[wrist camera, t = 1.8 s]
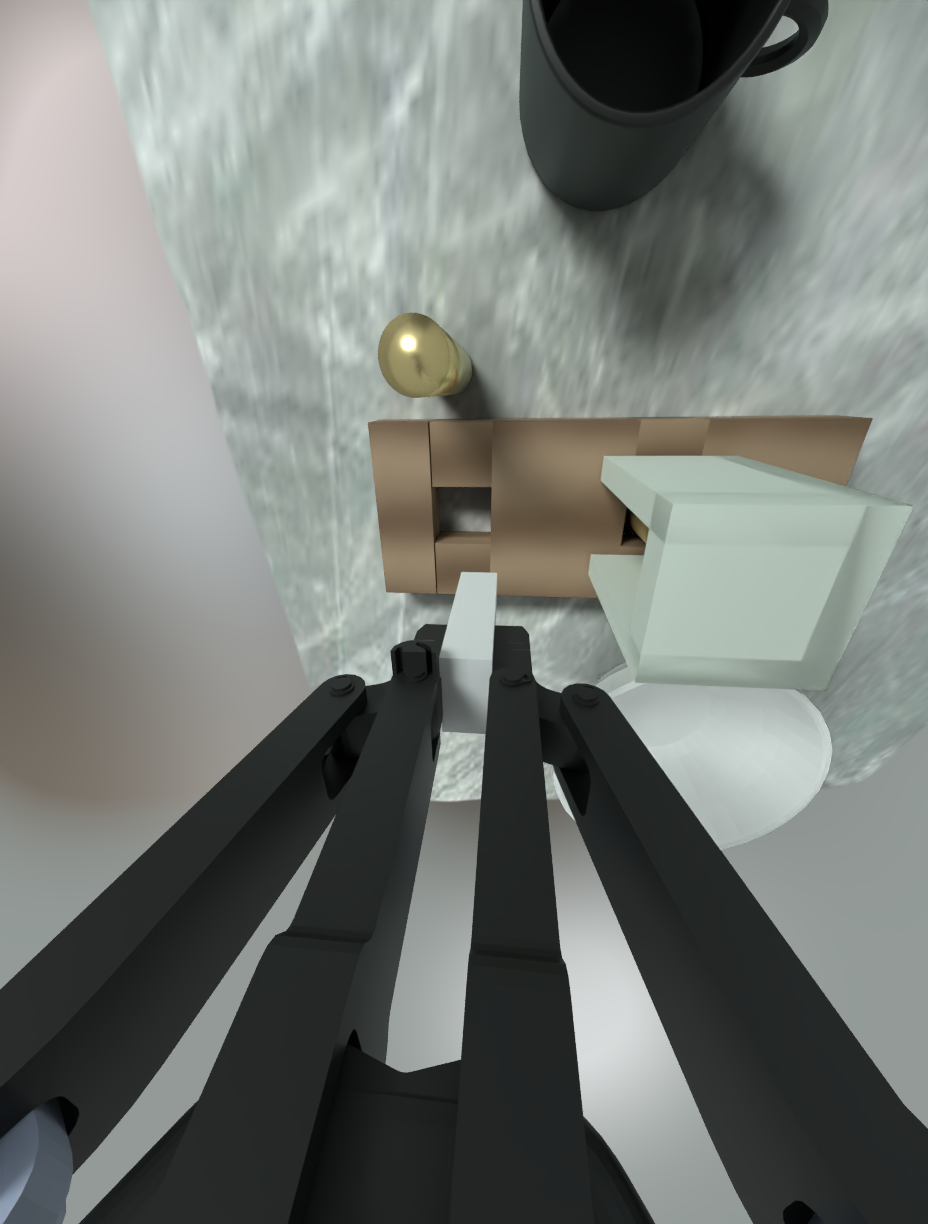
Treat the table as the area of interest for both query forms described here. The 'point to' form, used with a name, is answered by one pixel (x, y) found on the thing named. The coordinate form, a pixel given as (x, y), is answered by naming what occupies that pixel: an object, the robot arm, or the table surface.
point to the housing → (741, 571)
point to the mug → (638, 83)
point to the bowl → (728, 750)
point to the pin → (422, 358)
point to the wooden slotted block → (558, 488)
